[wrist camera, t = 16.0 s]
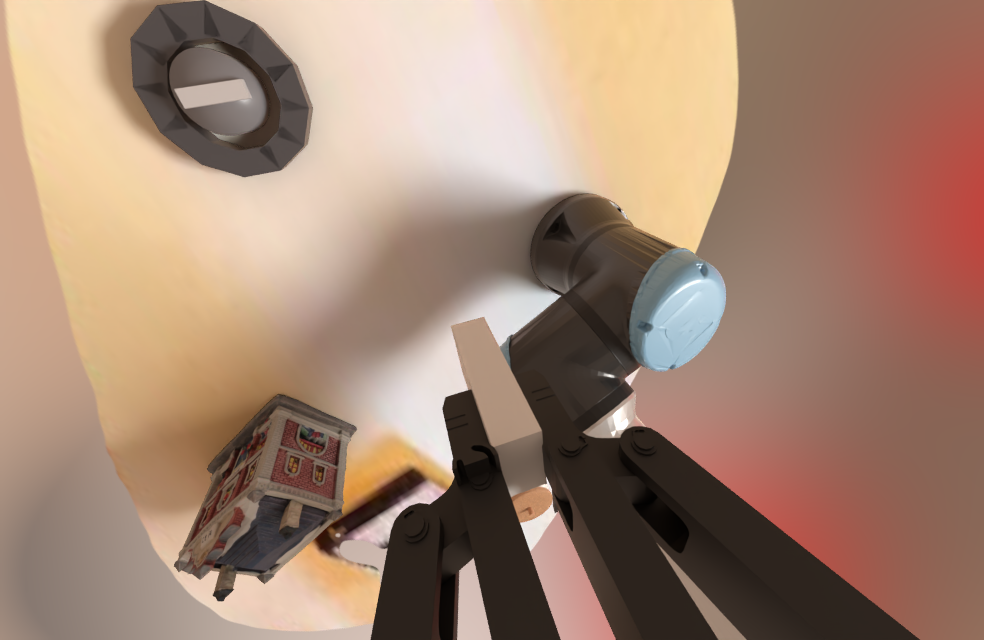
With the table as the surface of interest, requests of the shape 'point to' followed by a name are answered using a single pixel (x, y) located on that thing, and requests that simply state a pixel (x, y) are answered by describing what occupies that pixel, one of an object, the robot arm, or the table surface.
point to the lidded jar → (532, 503)
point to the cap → (219, 91)
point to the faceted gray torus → (150, 68)
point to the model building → (268, 494)
